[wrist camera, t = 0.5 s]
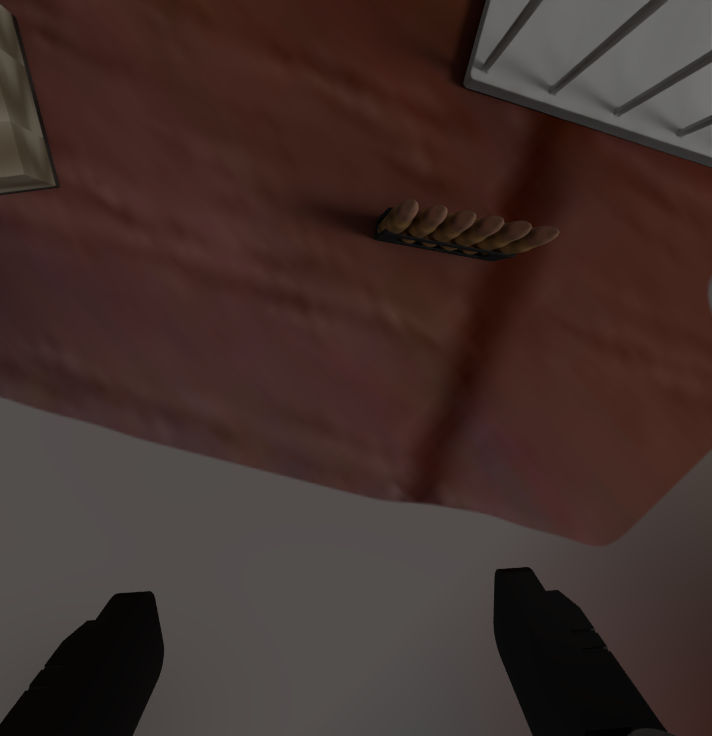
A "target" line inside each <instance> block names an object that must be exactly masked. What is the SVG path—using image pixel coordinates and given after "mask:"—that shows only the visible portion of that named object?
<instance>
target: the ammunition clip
mask: <svg viewBox="0 0 712 736" xmlns="http://www.w3.org/2000/svg"><path fill="white" fill-rule="evenodd" d="M417 212H418V203H417V201H415V200H412V199H410V200H406V201H404V202H403V203H401V204H398V205H396V206H395V207H394V208H388V209H387V210H386V211H385V212H384V213H383V214H382V215H381V216H380V217H379V218H378V221H377V226H376V232H375V238H374V239H375V240H378V241H383V242H389V243H394V244H400V245H405V246H411V247H416V248H422V249H427V250H433V251H438V252H443V253H449V254H454V255H460V256H465V257H471V258H476V259H482V260H487V261H496V260H501V259H507V258H512V257H515V255H516V253H519V252H524V251H528V250H530V249H532V248H533V247H537V246H539V245H543V244H546V243H548V242H550V241H551V240H553V239H554V238H556V237H557V235H558V234H559V230H558V229H557V228H555V227H551V226H540V227H534V228H532V225H531V224H530V223H529V222H526V221H514V222H510V223H504V219H503V218H502V217H499V216H488V217H485V218H481V219H479V218H476V214H475V213H474V212H473V211H468V210H466V211H461V212H458V213H455V214H449V215H447V208H446V207H445V206H443V205H436V206H433V207H431V208H429V209H424V210H422V211H420V212H419V213H417Z"/></svg>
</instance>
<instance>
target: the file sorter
mask: <svg viewBox="0 0 712 736" xmlns="http://www.w3.org/2000/svg"><path fill="white" fill-rule="evenodd" d="M463 84H464V86H465V87H466V88H468V89H471V90H474V91H478V92H481V93H484V94H487V95H490V96H494V97H497V98H500V99H503V100H506V101H509V102H513V103H516V104H519V105H522V106H525V107H528V108H531V109H534V110H537V111H540V112H543V113H546V114H549V115H552V116H555V117H559V118H562V119H565V120H568V121H571V122H574V123H577V124H580V125H583V126H586V127H589V128H592V129H595V130H598V131H601V132H605V133H608V134H611V135H614V136H617V137H620V138H623V139H626V140H629V141H632V142H635V143H638V144H641V145H644V146H647V147H650V148H653V149H656V150H660V151H663V152H666V153H669V154H672V155H675V156H678V157H681V158H684V159H687V160H690V161H694V162H697V163H700V164H703V165H706V166H709V167H712V0H486V2H485V5H484V9H483V13H482V16H481V20H480V24H479V27H478V31H477V35H476V38H475V42H474V46H473V49H472V53H471V57H470V60H469V64H468V67H467V71H466V75H465V78H464V82H463Z"/></svg>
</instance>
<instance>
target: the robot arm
mask: <svg viewBox="0 0 712 736" xmlns="http://www.w3.org/2000/svg"><path fill="white" fill-rule="evenodd" d="M493 623H494V634H495V640H496V644H497V648H498V651H499V654H500V657H501V659H502V662H503V664H504V666H505V669H506V672H507V674H508V676H509V679H510V681H511V684H512V686H513V689H514V691H515V693H516V696H517V699H518V701H519V703H520V706H521V708H522V711H523V713H524V715H525V718H526V720H527V723H528V725H529V728H530V730H531V733H532V735H533V736H675V735H673V734H670V733H668V732H667V731H666V729H665V728H664V727H663V725H662V724H661V722H660V721H659V720H658V718H657V717H656V715H655V714H654V713H653V711H652V710H651V709H650V707H649V705H648V704H647V703H646V701H645V700H644V698H643V697H642V695H641V694H640V693H639V691H638V690H637V688H636V687H635V686H634V684H633V683H632V682H631V680H630V679H629V677H628V676H627V674H626V673H625V671H624V670H623V668H622V667H621V666H620V664H619V663H618V661H617V660H616V658H615V657H614V656H613V654H612V653H611V652H610V651H608V649H607V646H606V644H605V643H604V642H603V640H602V639H601V637H600V636H599V634H598V633H595V630H594V627H593V626H592V625H591V623H590V622H589V620H588V619H587V617H586V616H585V614H584V613H583V612H582V610H581V609H580V608H579V607H578V606H577V605H576V604H574V603H573V602H572V601H571V600H570V599H568V598H567V597H566V596H565V595H563V594H562V593H561V592H560V591H558V590H553V591H545V589H544V588H543V586H542V584H541V583H540V581H539V580H538V579H537V577H536V575H535V573H534V572H533V571H532V569H531V568H529V567H523V568H508V569H497V570H496V572H495V582H494V621H493ZM163 658H164V644H163V638H162V633H161V627H160V622H159V616H158V612H157V606H156V601H155V597H154V594H153V593H152V592H150V591H147V592H133V593H118V594H115V595H114V596H113V597H112V598H111V599H110V600H109V602H108V603H107V605H106V606H105V607H104V609H103V610H102V612H101V613H100V615H99V616H98V617H97V619H96V620H91V621H86V622H85V623H84V624H83V625H82V626H80V627H79V628H78V629H77V630H76V631H74V633H72V634H71V635H70V636H68V637H67V638H66V639H65V640H64V641H63V642H62V643H61V644H60V646H59V647H58V648H57V650H56V651H55V652H54V654H53V655H52V656H51V658H50V659H49V660H48V662H47V663H46V664H45V668H44V670H41V671H40V672H39V673H38V675H37V676H36V677H35V679H34V680H33V681H32V683H31V684H30V687H29V690H28V691H25V692H24V693H23V695H22V696H21V697H20V699H19V700H18V701H17V703H16V704H15V705H14V706H13V708H12V709H11V710H10V712H9V713H8V714H7V716H6V717H5V718H4V720H3V721H2V722H1V724H0V736H133V733H134V731H135V729H136V727H137V725H138V722H139V720H140V718H141V716H142V713H143V711H144V709H145V707H146V705H147V702H148V700H149V698H150V696H151V694H152V691H153V689H154V687H155V684H156V683H157V680H158V678H159V675H160V672H161V669H162V664H163Z"/></svg>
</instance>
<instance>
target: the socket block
mask: <svg viewBox="0 0 712 736" xmlns="http://www.w3.org/2000/svg"><path fill="white" fill-rule="evenodd" d="M58 187H60V186H59V182H58V178H57V175H56V171H55V167H54V163H53V159H52V155H51V151H50V148H49V144H48V140H47V136H46V132H45V128H44V124H43V121H42V117H41V113H40V109H39V105H38V101H37V97H36V93H35V90H34V86H33V82H32V78H31V74H30V70H29V66H28V63H27V59H26V55H25V51H24V47H23V43H22V39H21V36H20V32H19V28H18V24H17V20H16V17H14V16H13V15H12V14H11V13H10V12H9V11H7V10H6V9H5V8H4V7H3V6H2V5H0V195H4V194H12V193H19V192H27V191H35V190H43V189H51V188H58Z"/></svg>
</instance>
